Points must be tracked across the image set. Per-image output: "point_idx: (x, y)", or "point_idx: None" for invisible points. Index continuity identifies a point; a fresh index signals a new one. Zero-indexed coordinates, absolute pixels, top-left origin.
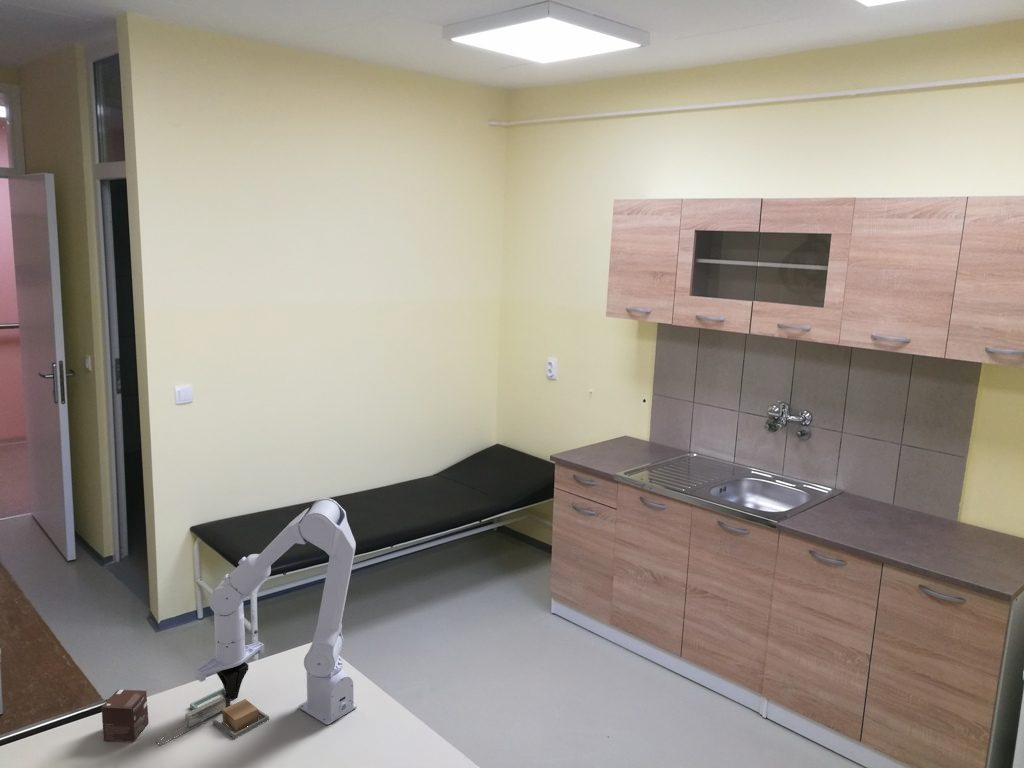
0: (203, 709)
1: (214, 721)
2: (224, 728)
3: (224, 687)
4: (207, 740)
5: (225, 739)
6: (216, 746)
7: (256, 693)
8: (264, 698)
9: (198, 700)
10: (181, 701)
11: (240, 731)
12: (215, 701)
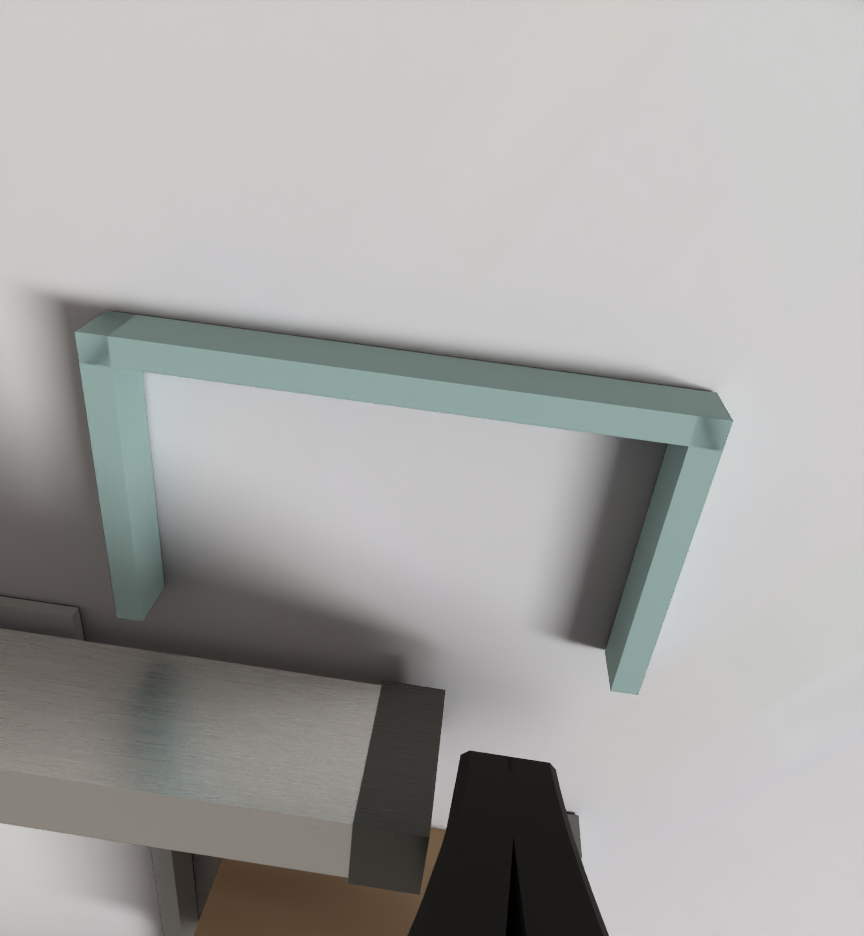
0: (6, 819)
1: None
2: (161, 911)
3: (429, 888)
4: (14, 841)
5: (133, 919)
6: (41, 917)
7: (837, 756)
8: (779, 858)
9: (219, 370)
10: (71, 5)
11: None
12: (208, 834)
